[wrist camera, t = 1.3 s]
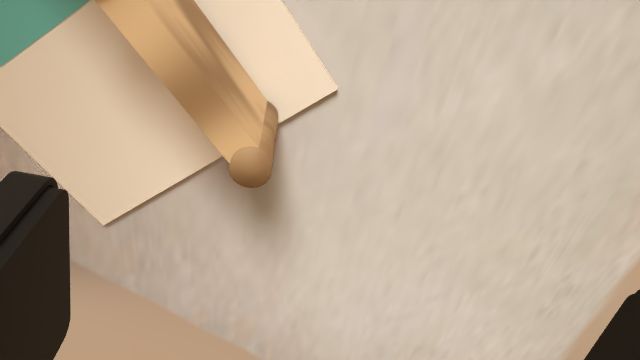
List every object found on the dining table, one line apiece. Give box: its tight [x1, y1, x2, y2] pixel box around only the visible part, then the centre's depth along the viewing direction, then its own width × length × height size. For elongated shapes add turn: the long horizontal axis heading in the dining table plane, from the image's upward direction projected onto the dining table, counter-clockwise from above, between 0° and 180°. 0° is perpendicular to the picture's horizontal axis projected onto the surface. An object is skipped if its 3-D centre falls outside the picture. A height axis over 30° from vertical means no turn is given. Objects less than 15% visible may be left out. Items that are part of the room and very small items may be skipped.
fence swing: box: [95, 0, 278, 188], centre depth 24 cm, size 10×2×5 cm, turn 32°
